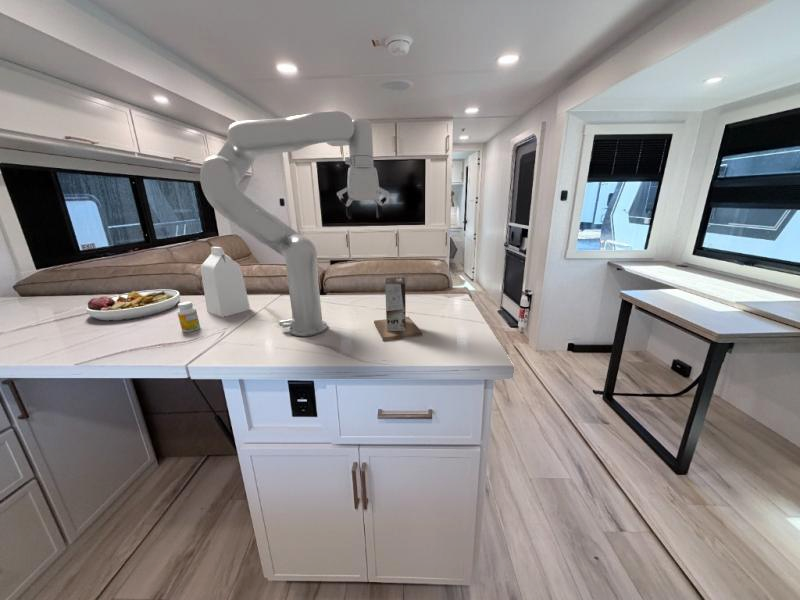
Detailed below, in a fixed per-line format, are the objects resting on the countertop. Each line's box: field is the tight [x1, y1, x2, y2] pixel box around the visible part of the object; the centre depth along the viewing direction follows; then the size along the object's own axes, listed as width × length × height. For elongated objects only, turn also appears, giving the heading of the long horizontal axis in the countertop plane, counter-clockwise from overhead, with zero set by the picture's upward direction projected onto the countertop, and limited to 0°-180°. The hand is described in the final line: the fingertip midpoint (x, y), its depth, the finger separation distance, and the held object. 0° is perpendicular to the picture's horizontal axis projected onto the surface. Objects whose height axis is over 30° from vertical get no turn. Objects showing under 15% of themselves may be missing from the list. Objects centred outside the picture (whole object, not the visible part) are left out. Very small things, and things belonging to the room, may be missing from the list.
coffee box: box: [384, 276, 407, 331], centre depth 101 cm, size 9×6×16 cm
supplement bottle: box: [177, 300, 201, 333], centre depth 106 cm, size 5×5×10 cm
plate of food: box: [85, 289, 181, 321], centre depth 128 cm, size 30×30×8 cm
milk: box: [200, 246, 251, 318], centre depth 122 cm, size 12×12×26 cm
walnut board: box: [373, 316, 423, 342], centre depth 103 cm, size 13×15×1 cm
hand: (364, 218), depth 103 cm, fingers open, 9 cm apart
